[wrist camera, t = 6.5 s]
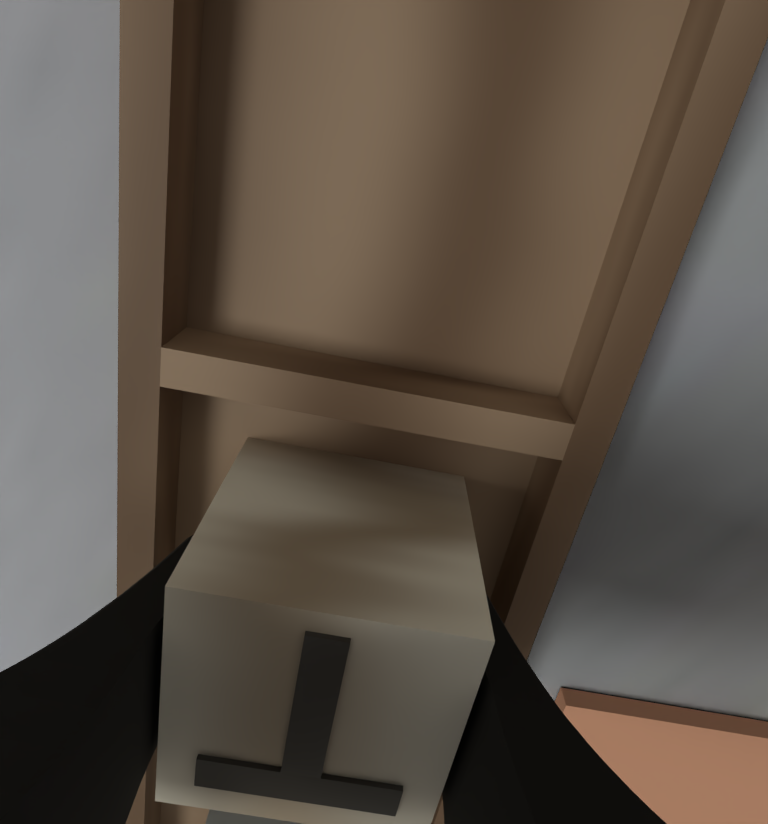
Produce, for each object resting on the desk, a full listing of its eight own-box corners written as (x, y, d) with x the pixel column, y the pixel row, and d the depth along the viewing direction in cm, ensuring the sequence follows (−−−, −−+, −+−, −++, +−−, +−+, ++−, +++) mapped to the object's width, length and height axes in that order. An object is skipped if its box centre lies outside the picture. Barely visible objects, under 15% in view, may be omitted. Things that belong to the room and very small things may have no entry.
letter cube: (464, 476, 13) (496, 646, 9) (418, 638, 15) (424, 847, 11) (247, 437, 13) (161, 590, 9) (229, 606, 15) (153, 806, 11)
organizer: (757, -91, 10) (839, -149, 8) (416, 872, 21) (417, 942, 19) (177, -226, 9) (121, -320, 7) (141, 831, 20) (115, 899, 18)
